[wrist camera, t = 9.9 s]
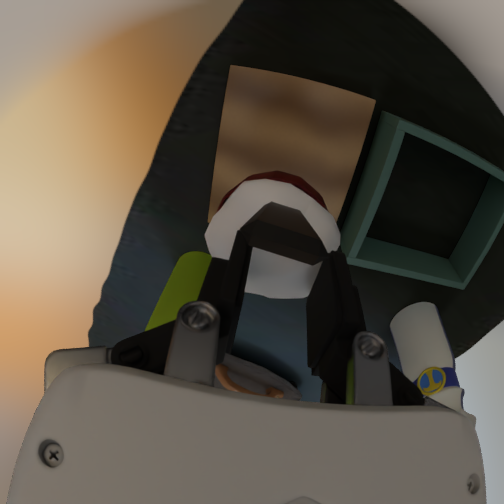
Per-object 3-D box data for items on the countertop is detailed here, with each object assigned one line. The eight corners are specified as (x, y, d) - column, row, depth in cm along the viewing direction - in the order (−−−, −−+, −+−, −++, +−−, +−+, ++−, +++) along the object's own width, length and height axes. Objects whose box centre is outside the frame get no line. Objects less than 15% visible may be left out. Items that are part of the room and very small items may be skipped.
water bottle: (377, 318, 36) (404, 505, 15) (433, 290, 32) (490, 475, 12) (393, 346, 39) (416, 503, 19) (443, 323, 35) (484, 479, 15)
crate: (381, 110, 21) (399, 119, 18) (498, 167, 21) (521, 184, 18) (338, 236, 29) (344, 263, 26) (449, 265, 29) (463, 289, 26)
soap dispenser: (184, 236, 31) (105, 404, 15) (234, 271, 33) (194, 444, 17) (161, 267, 34) (91, 415, 18) (207, 297, 36) (163, 449, 20)
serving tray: (206, 425, 66) (202, 445, 61) (125, 389, 59) (117, 410, 54) (317, 379, 46) (318, 410, 41) (199, 319, 39) (188, 355, 34)
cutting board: (233, 65, 21) (230, 65, 19) (371, 98, 21) (376, 100, 20) (211, 215, 29) (207, 222, 28) (325, 239, 30) (326, 247, 28)
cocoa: (277, 272, 21) (245, 436, 11) (203, 222, 19) (116, 376, 10) (374, 177, 15) (446, 351, 6) (289, 106, 14) (246, 196, 5)
